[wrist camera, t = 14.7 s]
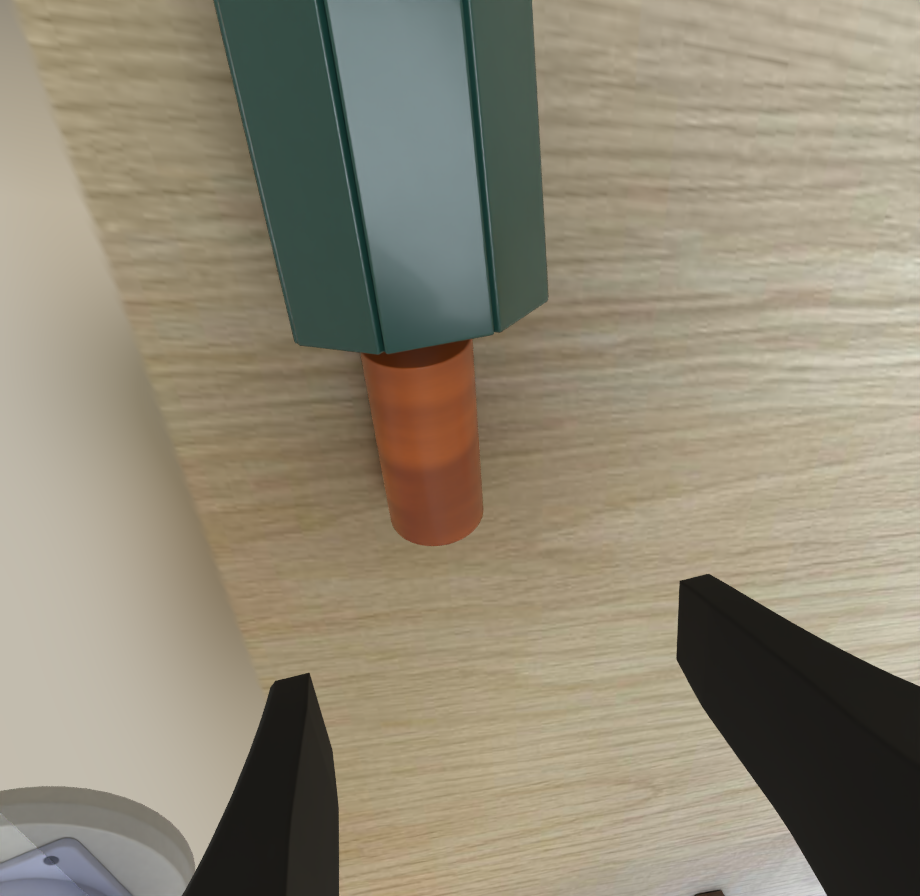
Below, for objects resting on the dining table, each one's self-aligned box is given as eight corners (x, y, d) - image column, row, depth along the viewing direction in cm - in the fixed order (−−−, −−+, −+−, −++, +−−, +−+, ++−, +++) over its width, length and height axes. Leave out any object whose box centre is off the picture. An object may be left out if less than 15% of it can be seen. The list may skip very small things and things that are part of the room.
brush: (473, 468, 22) (503, 536, 20) (375, 490, 22) (394, 563, 19) (428, -145, 13) (476, -159, 10) (254, -132, 12) (261, -143, 10)
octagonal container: (489, 255, 19) (577, 320, 13) (293, 288, 18) (296, 372, 12) (443, -224, 14) (549, -456, 9) (179, -209, 14) (97, -450, 8)
